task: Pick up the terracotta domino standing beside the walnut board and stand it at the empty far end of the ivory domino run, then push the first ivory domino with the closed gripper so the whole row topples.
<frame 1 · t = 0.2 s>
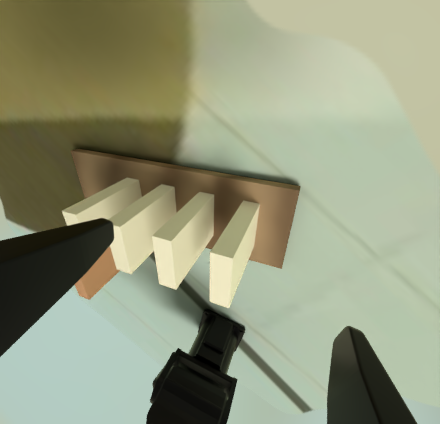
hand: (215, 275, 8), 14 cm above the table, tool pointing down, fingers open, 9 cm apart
ivory domino 3: (169, 206, 25), point 1 cm above the table, touching walnut board
walnut board: (174, 202, 26), on the table
ivory domino 4: (136, 198, 27), point 1 cm above the table, touching walnut board
ivory domino 2: (206, 214, 24), point 1 cm above the table, touching walnut board
terracotta domino: (125, 244, 33), on the table
ivory domino 1: (248, 224, 23), point 1 cm above the table, touching walnut board
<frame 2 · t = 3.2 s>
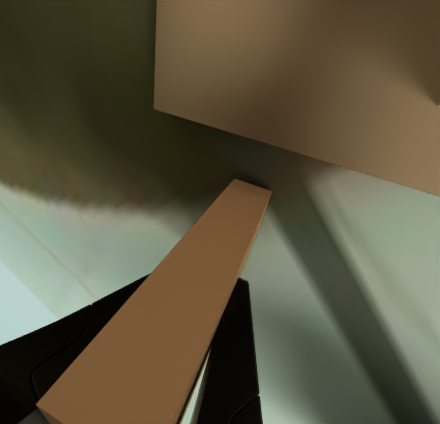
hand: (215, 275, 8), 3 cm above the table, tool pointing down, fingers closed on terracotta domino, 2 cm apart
terracotta domino: (238, 232, 11), on the table, touching gripper
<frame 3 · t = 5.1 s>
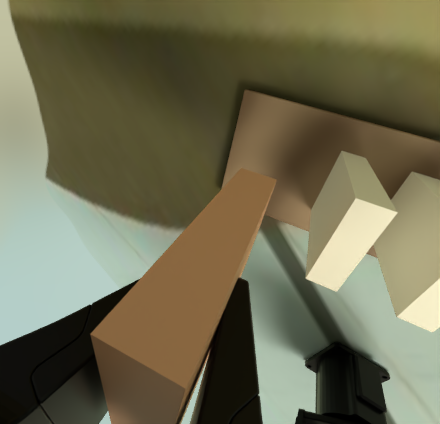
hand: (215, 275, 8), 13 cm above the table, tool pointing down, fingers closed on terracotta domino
ivory domino 3: (400, 207, 16), point 1 cm above the table, touching walnut board
walnut board: (396, 201, 17), on the table
ivory domino 4: (335, 186, 17), point 1 cm above the table, touching walnut board
terracotta domino: (244, 220, 11), point 10 cm above the table, touching gripper
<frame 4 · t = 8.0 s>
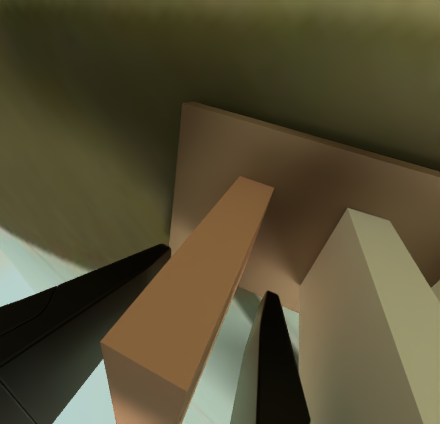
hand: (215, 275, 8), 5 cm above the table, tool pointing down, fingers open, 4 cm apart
walnut board: (437, 282, 10), on the table
ivory domino 4: (338, 258, 10), point 1 cm above the table, touching gripper, walnut board
terracotta domino: (242, 225, 11), point 1 cm above the table, touching walnut board
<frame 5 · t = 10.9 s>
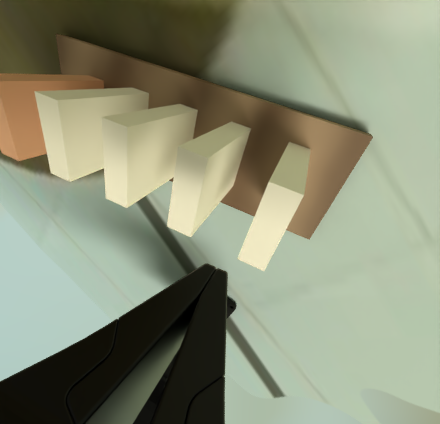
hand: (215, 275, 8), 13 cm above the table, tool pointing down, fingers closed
ivory domino 3: (184, 137, 19), point 1 cm above the table, touching walnut board
walnut board: (189, 135, 20), on the table
ivory domino 4: (139, 121, 20), point 1 cm above the table, touching walnut board
ivory domino 2: (232, 156, 19), point 1 cm above the table, touching walnut board
terracotta domino: (97, 108, 21), point 1 cm above the table, touching walnut board
ivory domino 1: (286, 176, 18), point 1 cm above the table, touching walnut board
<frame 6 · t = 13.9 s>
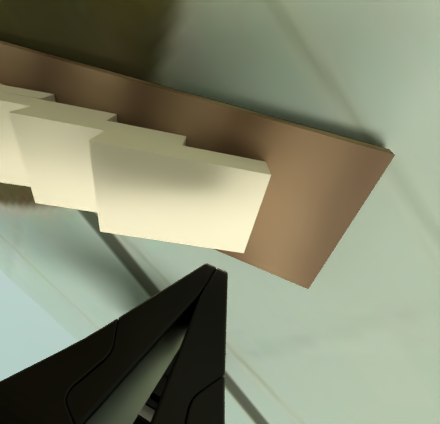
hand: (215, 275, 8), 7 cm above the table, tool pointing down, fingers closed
ivory domino 3: (114, 158, 14), point 2 cm above the table, tilted 67°, touching ivory domino 2, ivory domino 4, walnut board
walnut board: (145, 156, 16), on the table
ivory domino 4: (55, 136, 15), point 2 cm above the table, tilted 63°, touching ivory domino 3, terracotta domino
ivory domino 2: (179, 182, 13), point 2 cm above the table, tilted 69°, touching ivory domino 1, ivory domino 3, walnut board
ivory domino 1: (254, 210, 12), point 2 cm above the table, tilted 69°, touching ivory domino 2, walnut board
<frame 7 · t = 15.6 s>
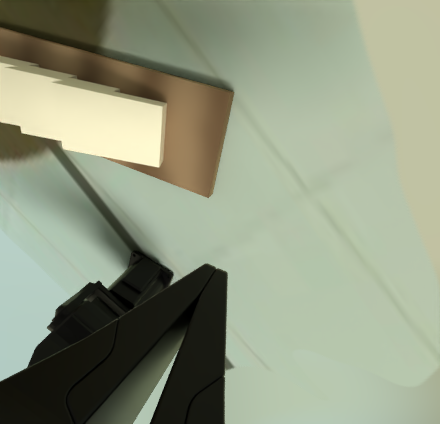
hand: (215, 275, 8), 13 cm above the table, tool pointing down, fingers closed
ivory domino 3: (76, 107, 21), point 2 cm above the table, tilted 69°, touching ivory domino 2, ivory domino 4, walnut board
walnut board: (100, 108, 22), on the table
ivory domino 2: (117, 121, 20), point 2 cm above the table, tilted 69°, touching ivory domino 1, ivory domino 3, walnut board
ivory domino 1: (162, 136, 19), point 2 cm above the table, tilted 70°, touching ivory domino 2, walnut board
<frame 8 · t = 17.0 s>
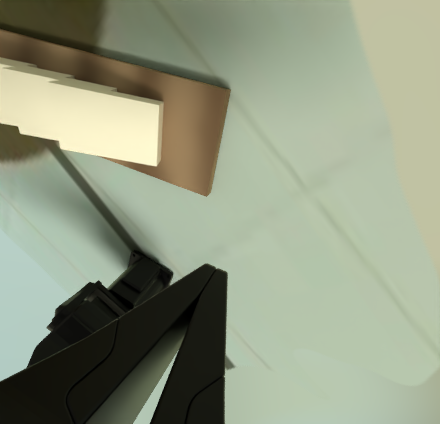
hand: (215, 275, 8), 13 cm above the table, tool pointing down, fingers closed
ivory domino 3: (73, 107, 21), point 2 cm above the table, tilted 69°, touching ivory domino 2, ivory domino 4, walnut board
walnut board: (97, 108, 22), on the table
ivory domino 2: (115, 120, 20), point 2 cm above the table, tilted 69°, touching ivory domino 1, ivory domino 3, walnut board
ivory domino 1: (160, 135, 19), point 2 cm above the table, tilted 70°, touching ivory domino 2, walnut board
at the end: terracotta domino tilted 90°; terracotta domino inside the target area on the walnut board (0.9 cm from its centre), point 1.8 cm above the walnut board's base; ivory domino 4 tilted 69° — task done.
